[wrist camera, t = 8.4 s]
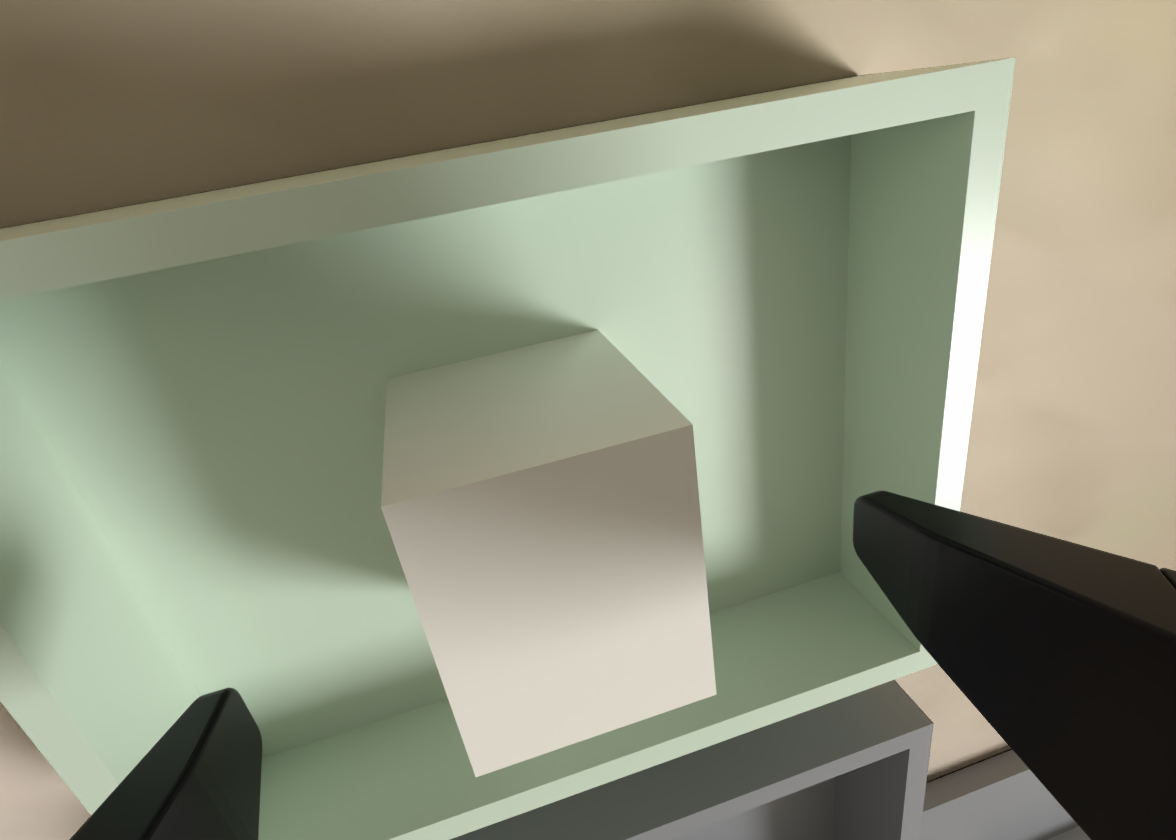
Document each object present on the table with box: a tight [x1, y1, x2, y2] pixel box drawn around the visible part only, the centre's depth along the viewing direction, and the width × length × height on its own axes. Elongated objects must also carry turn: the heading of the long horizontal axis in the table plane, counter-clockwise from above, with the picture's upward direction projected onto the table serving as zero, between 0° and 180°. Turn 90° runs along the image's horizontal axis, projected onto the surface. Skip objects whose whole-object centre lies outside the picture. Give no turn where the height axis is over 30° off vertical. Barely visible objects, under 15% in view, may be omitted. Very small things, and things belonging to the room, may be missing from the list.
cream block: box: [381, 330, 717, 777], centre depth 11 cm, size 4×5×4 cm
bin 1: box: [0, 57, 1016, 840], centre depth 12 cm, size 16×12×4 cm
